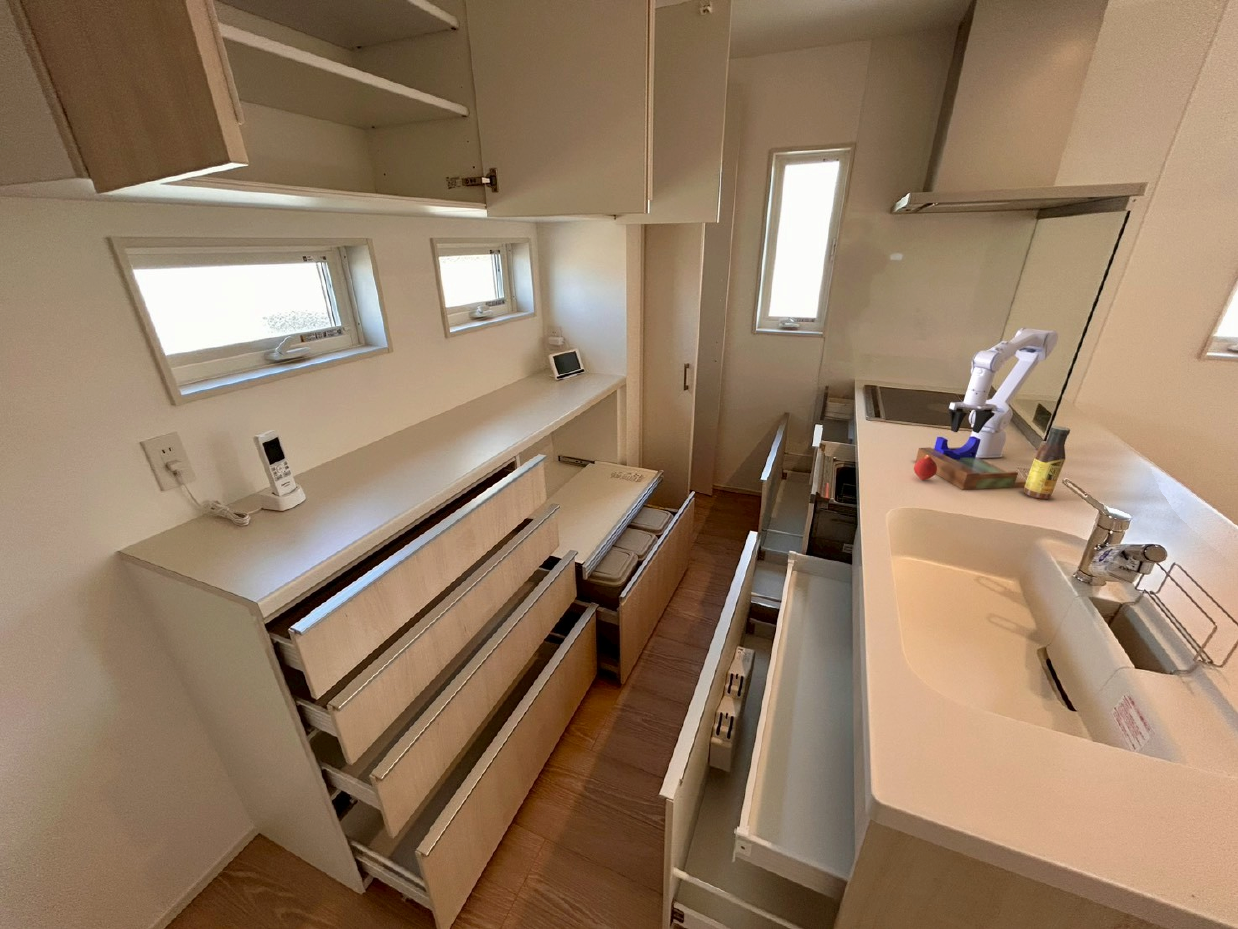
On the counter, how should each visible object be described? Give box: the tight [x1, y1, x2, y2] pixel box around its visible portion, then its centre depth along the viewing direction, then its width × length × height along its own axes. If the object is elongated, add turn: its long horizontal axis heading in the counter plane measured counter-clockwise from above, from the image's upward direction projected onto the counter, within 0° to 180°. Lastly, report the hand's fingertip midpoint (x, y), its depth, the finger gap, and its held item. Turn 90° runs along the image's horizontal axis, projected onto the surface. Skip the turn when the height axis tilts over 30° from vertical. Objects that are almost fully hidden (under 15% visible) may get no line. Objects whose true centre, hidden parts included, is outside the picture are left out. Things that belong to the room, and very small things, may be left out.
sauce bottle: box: [1023, 425, 1071, 500], centre depth 136 cm, size 7×6×20 cm
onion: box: [913, 455, 937, 481], centre depth 148 cm, size 6×6×8 cm
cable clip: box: [933, 436, 981, 459], centre depth 157 cm, size 12×4×6 cm, turn 91°
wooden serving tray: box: [915, 447, 1026, 490], centre depth 153 cm, size 20×21×5 cm
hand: (964, 431), depth 160 cm, fingers open, 7 cm apart
